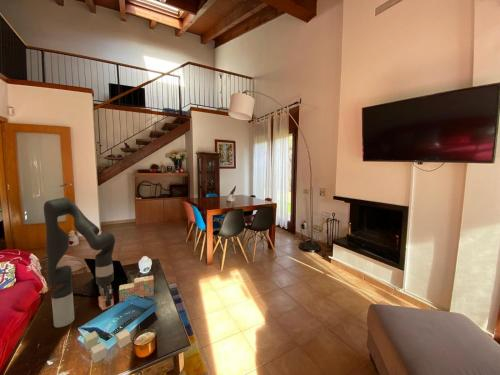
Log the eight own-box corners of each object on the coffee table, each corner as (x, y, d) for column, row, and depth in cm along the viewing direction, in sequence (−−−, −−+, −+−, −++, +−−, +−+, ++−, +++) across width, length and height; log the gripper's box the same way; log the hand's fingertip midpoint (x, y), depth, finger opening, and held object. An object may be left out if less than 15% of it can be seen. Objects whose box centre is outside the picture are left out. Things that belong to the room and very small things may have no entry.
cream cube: (116, 343, 114) (115, 334, 114) (126, 337, 118) (126, 329, 118) (120, 348, 111) (119, 339, 111) (130, 342, 115) (130, 333, 115)
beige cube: (91, 357, 106) (90, 348, 105) (103, 350, 110) (102, 341, 109) (94, 363, 103) (94, 353, 102) (106, 356, 107) (106, 347, 106)
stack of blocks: (119, 303, 147) (118, 285, 145) (120, 297, 152) (119, 281, 151) (154, 295, 156) (153, 278, 155) (153, 290, 162) (153, 274, 160)
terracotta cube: (99, 306, 113) (98, 296, 112) (110, 301, 117) (109, 292, 116) (102, 310, 110) (102, 300, 109) (113, 305, 114) (113, 296, 113)
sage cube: (84, 345, 113) (83, 336, 112) (95, 339, 117) (95, 330, 116) (87, 350, 110) (86, 341, 109) (99, 344, 114) (98, 335, 113)
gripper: (91, 270, 113) (93, 301, 115) (101, 280, 104) (103, 313, 106) (107, 265, 119) (109, 295, 121) (118, 274, 110) (120, 306, 112)
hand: (106, 303), depth 113 cm, fingers closed on terracotta cube, 5 cm apart
